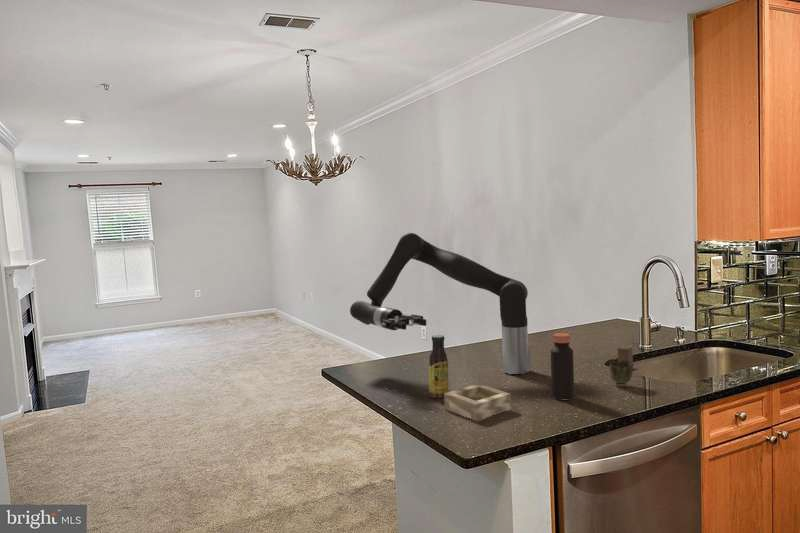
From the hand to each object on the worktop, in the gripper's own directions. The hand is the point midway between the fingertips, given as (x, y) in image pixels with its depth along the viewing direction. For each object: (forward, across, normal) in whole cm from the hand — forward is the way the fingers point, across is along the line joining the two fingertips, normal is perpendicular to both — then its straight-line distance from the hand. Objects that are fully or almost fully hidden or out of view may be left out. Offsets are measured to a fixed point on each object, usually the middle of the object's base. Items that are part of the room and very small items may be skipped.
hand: (415, 324), depth 197 cm
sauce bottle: (+11, 0, +22) cm, 25 cm away
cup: (+45, +49, +22) cm, 70 cm away
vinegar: (+39, +27, +22) cm, 53 cm away
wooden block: (+34, +68, +22) cm, 79 cm away
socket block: (+29, 0, +22) cm, 37 cm away
